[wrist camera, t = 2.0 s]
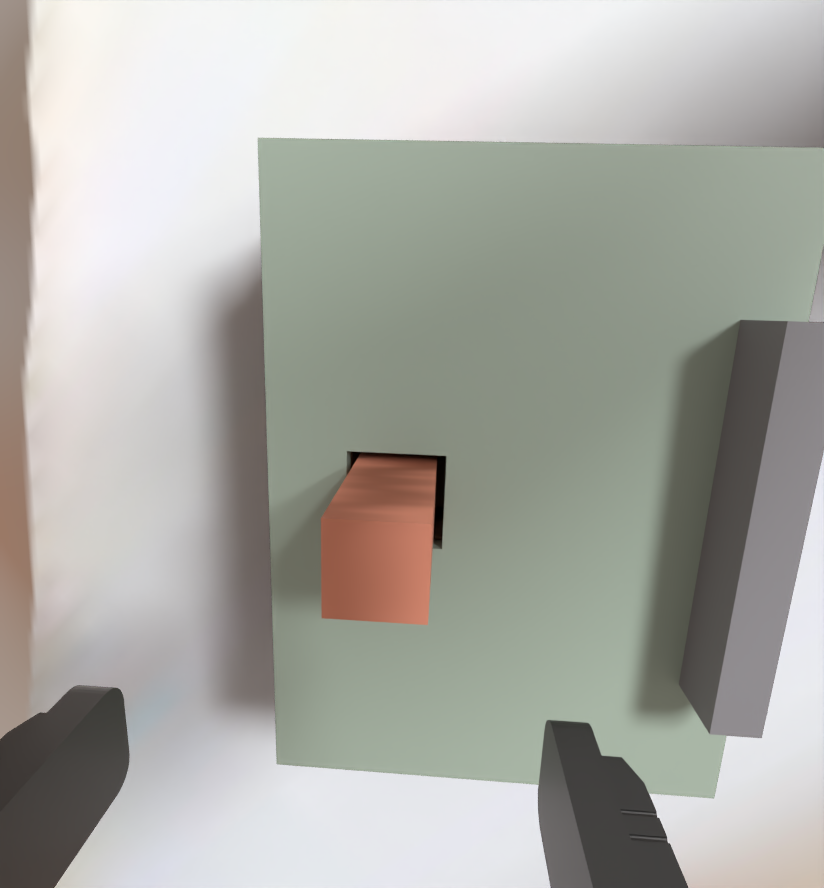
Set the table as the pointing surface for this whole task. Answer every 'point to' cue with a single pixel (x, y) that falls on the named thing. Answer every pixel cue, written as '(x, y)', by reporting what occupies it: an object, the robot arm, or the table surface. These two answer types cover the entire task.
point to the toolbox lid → (544, 441)
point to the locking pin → (380, 540)
